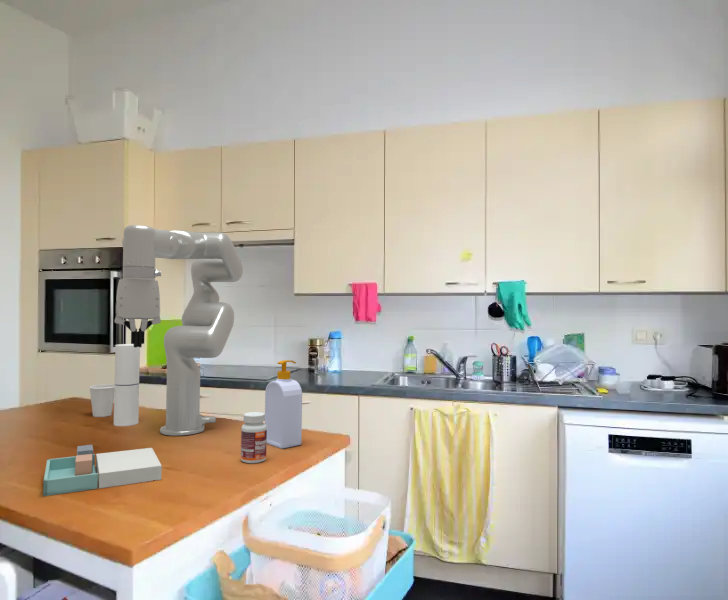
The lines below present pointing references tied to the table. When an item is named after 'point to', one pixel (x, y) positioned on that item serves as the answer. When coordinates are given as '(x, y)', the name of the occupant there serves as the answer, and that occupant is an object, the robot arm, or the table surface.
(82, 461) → the salmon pink box
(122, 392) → the cylindrical container
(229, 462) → the table surface
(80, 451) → the grey block
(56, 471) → the tray
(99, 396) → the dixie cup
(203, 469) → the table surface
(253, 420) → the pill bottle
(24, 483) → the table surface
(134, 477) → the white flat block
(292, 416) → the soap bottle
